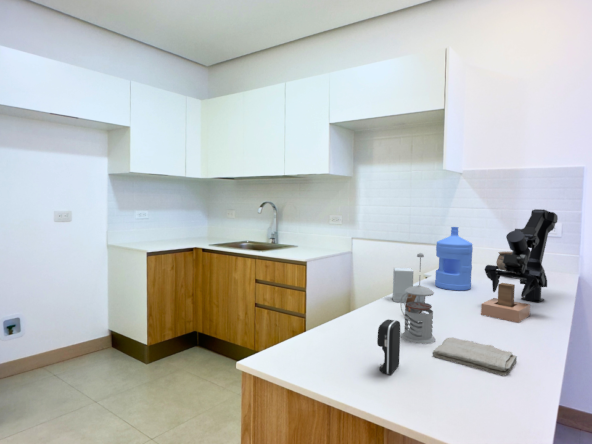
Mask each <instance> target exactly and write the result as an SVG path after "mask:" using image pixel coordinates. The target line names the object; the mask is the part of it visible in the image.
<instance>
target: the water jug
mask: <svg viewBox="0 0 592 444" xmlns="http://www.w3.org/2000/svg"><path fill="white" fill-rule="evenodd" d="M450 229H451V230H450V235H449V236H446V237H445V238H442V239H440V240H438V241H436V247H435V253H436V257H437V258H438V268H437V269H436V271H435V280H434V284H435V286H436V287H437V288H439V289H444V290H448V291H469V290H470V289H471V288H472V270H473V265H472V264H473V262H472V261H473V249H474V248H473V242H470V241H468V239H467V240H466V239H464V238H463V237H461V236H459V227H458V226H451V227H450Z"/></svg>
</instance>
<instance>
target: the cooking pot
mask: <svg viewBox="0 0 592 444" xmlns="http://www.w3.org/2000/svg"><path fill="white" fill-rule="evenodd" d="M512 252H513V251H499V252H498V256H497V258H496V266H498V268H499V270H506V268H505V267H504V265H505V264H504V263H503V259H504V254H510V255H511V254H512ZM528 260H529V259H528Z"/></svg>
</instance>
